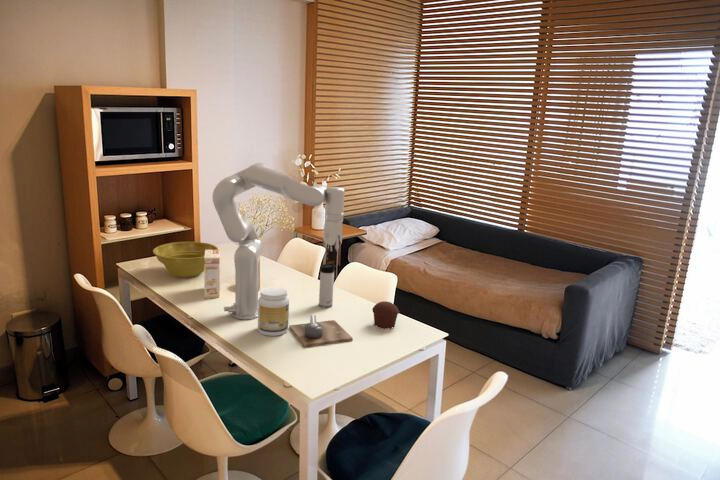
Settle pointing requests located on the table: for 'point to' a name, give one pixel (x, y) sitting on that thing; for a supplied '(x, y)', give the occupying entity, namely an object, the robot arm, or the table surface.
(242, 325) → the table surface
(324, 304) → the travel mug
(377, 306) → the muffin
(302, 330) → the board
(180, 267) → the planter bowl
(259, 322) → the supplement tub
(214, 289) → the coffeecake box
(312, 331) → the grey knobbed bar
